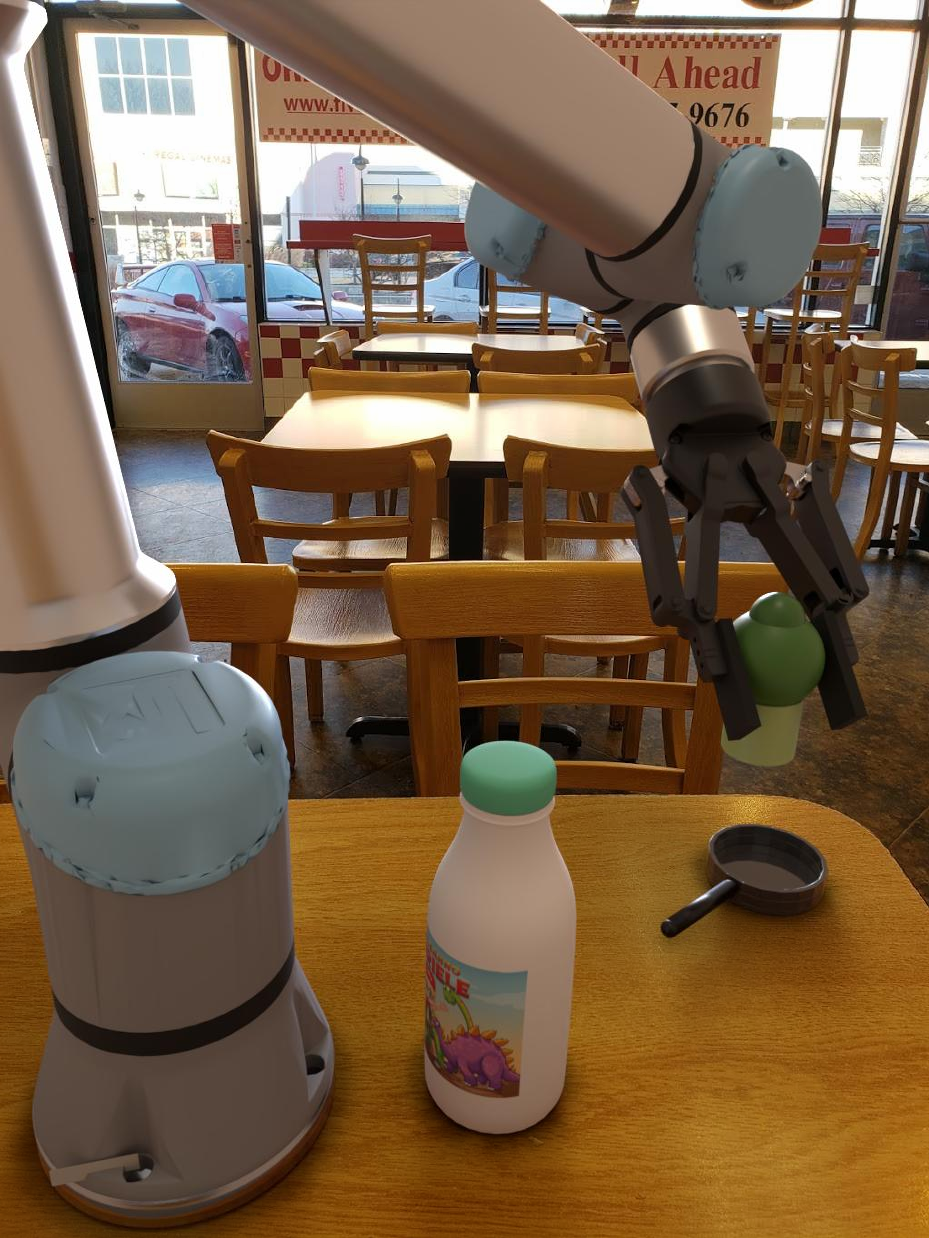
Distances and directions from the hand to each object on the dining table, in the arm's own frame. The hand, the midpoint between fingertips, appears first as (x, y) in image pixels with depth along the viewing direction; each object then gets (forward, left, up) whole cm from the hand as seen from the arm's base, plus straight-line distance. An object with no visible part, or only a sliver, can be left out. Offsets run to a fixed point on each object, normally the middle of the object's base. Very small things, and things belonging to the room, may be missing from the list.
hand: (797, 727), depth 54 cm
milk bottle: (-5, -18, -18) cm, 26 cm away
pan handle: (-5, +1, -18) cm, 18 cm away
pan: (-5, +9, -18) cm, 20 cm away
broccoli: (-3, +2, -3) cm, 5 cm away
